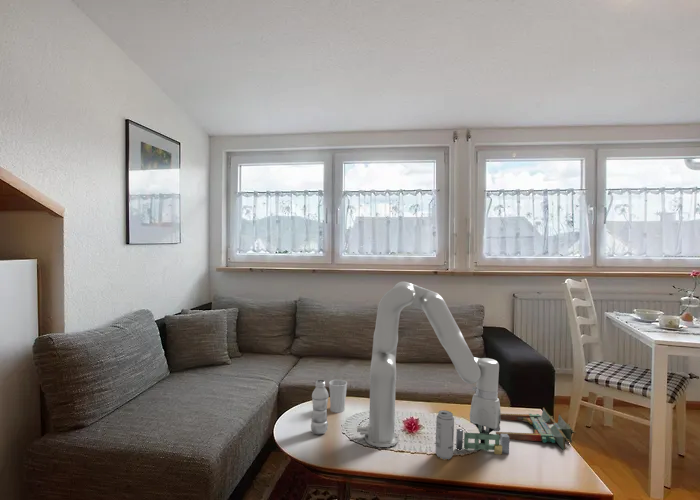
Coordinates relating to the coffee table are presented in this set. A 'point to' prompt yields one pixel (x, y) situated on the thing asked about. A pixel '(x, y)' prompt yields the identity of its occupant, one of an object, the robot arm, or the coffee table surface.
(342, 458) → the coffee table surface
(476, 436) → the gate
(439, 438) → the energy drink can
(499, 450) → the grey and yellow block
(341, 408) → the cup
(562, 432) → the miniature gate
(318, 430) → the plastic bottle
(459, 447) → the hinge post
